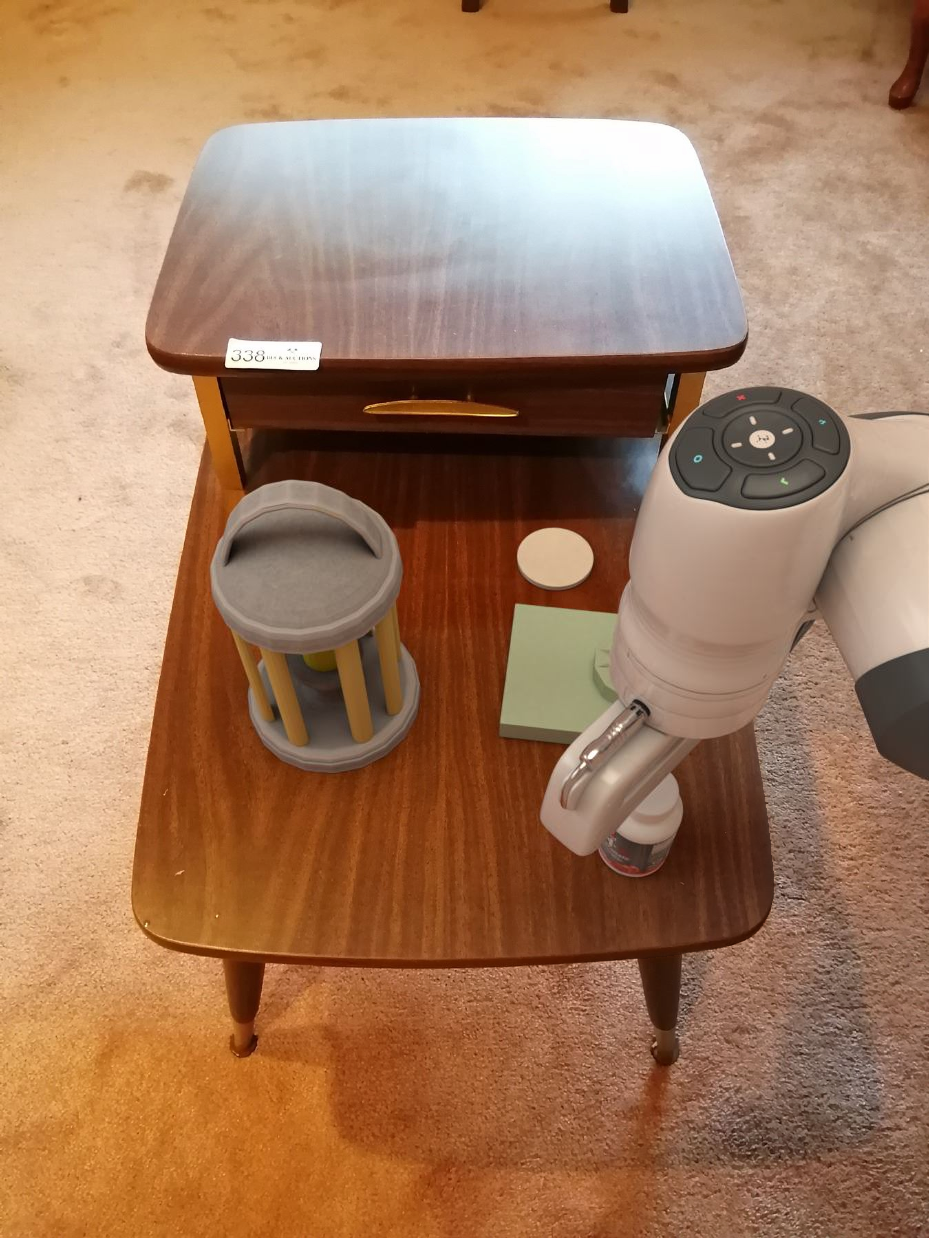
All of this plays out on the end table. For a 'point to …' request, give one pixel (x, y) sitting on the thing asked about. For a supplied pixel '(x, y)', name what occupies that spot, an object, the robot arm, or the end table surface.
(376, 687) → the lantern
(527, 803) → the end table surface
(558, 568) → the coaster
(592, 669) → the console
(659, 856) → the pill bottle
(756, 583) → the robot arm
